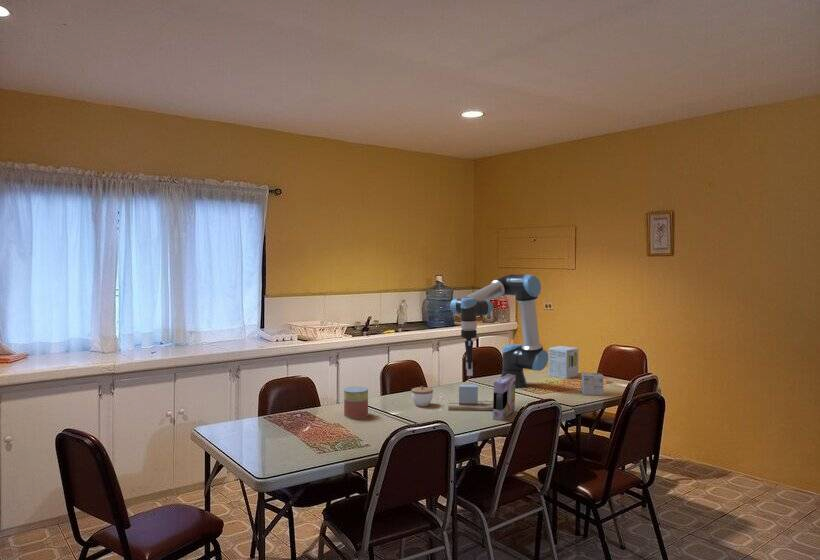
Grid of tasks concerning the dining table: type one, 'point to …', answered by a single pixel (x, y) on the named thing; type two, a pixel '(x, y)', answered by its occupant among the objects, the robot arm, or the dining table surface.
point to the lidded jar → (422, 395)
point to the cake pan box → (504, 396)
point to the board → (481, 405)
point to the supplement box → (563, 362)
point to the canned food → (356, 402)
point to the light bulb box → (592, 384)
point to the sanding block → (468, 394)
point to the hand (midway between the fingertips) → (469, 372)
